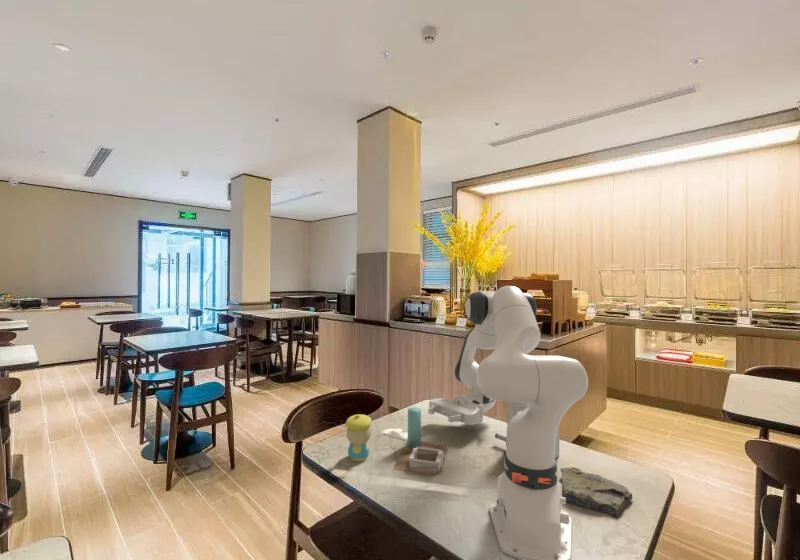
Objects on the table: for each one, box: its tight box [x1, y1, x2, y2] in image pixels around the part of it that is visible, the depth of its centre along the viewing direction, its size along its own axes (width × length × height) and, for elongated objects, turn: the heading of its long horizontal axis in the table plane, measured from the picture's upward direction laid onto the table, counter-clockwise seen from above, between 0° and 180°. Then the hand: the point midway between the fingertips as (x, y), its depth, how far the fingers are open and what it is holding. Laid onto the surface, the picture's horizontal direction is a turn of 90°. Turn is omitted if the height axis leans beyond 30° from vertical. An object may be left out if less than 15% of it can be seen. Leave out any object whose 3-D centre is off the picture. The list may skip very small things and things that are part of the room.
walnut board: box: [392, 440, 450, 477], centre depth 117 cm, size 20×14×4 cm
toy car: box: [381, 428, 408, 441], centre depth 133 cm, size 6×12×3 cm, turn 56°
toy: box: [345, 413, 373, 462], centre depth 116 cm, size 8×9×15 cm
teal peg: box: [407, 407, 422, 449], centre depth 124 cm, size 4×4×12 cm
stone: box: [559, 466, 633, 518], centre depth 99 cm, size 18×15×4 cm
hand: (439, 415), depth 132 cm, fingers open, 8 cm apart
